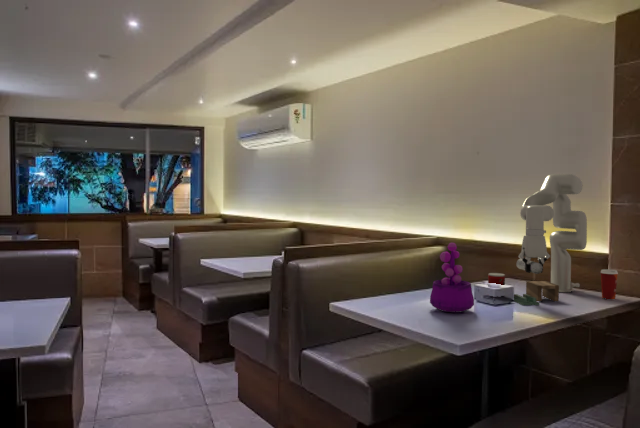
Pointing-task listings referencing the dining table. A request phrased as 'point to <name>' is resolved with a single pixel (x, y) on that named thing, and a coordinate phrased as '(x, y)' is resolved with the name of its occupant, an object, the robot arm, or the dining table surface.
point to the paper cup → (608, 283)
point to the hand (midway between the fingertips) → (534, 271)
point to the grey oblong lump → (535, 266)
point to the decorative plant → (451, 286)
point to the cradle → (525, 299)
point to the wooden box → (542, 290)
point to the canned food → (496, 278)
